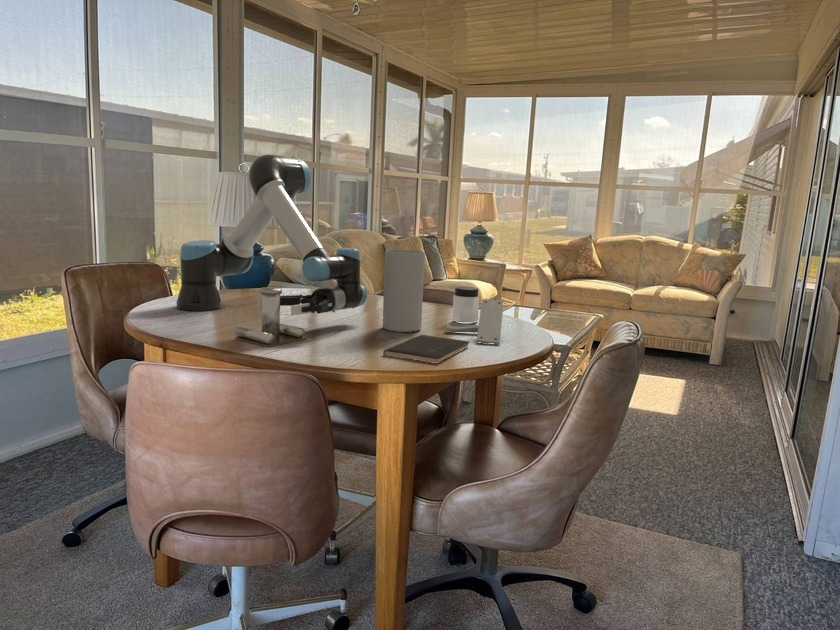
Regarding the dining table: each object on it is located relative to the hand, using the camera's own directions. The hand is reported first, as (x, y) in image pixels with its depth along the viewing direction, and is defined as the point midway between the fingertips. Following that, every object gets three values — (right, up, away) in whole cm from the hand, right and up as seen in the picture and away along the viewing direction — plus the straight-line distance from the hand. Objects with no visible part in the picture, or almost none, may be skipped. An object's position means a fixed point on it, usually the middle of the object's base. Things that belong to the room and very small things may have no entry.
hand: (275, 307), depth 181 cm
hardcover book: (+44, -13, -5) cm, 46 cm away
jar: (+57, -5, +40) cm, 70 cm away
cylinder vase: (+36, -7, +23) cm, 43 cm away
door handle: (+58, -10, +16) cm, 61 cm away
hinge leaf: (-1, -9, +1) cm, 9 cm away
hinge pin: (-1, -8, +1) cm, 9 cm away
